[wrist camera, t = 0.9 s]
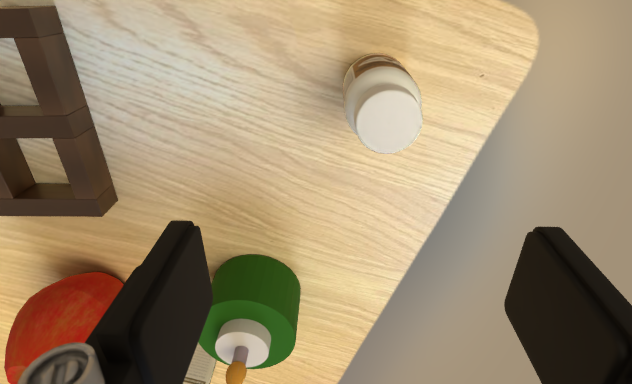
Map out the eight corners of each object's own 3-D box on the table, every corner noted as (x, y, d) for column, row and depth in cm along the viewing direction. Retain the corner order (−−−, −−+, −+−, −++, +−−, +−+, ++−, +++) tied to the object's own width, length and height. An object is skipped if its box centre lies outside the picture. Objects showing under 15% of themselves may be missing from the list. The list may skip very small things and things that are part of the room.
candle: (315, 304, 36) (310, 406, 28) (243, 328, 38) (216, 430, 30) (273, 242, 33) (251, 336, 24) (195, 272, 35) (150, 369, 26)
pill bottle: (414, 58, 25) (444, 87, 18) (397, 121, 27) (418, 168, 20) (349, 46, 25) (355, 72, 18) (337, 111, 27) (338, 155, 20)
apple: (86, 237, 33) (-9, 337, 24) (162, 289, 36) (103, 397, 27) (43, 283, 36) (-56, 387, 27) (117, 328, 39) (49, 436, 30)
